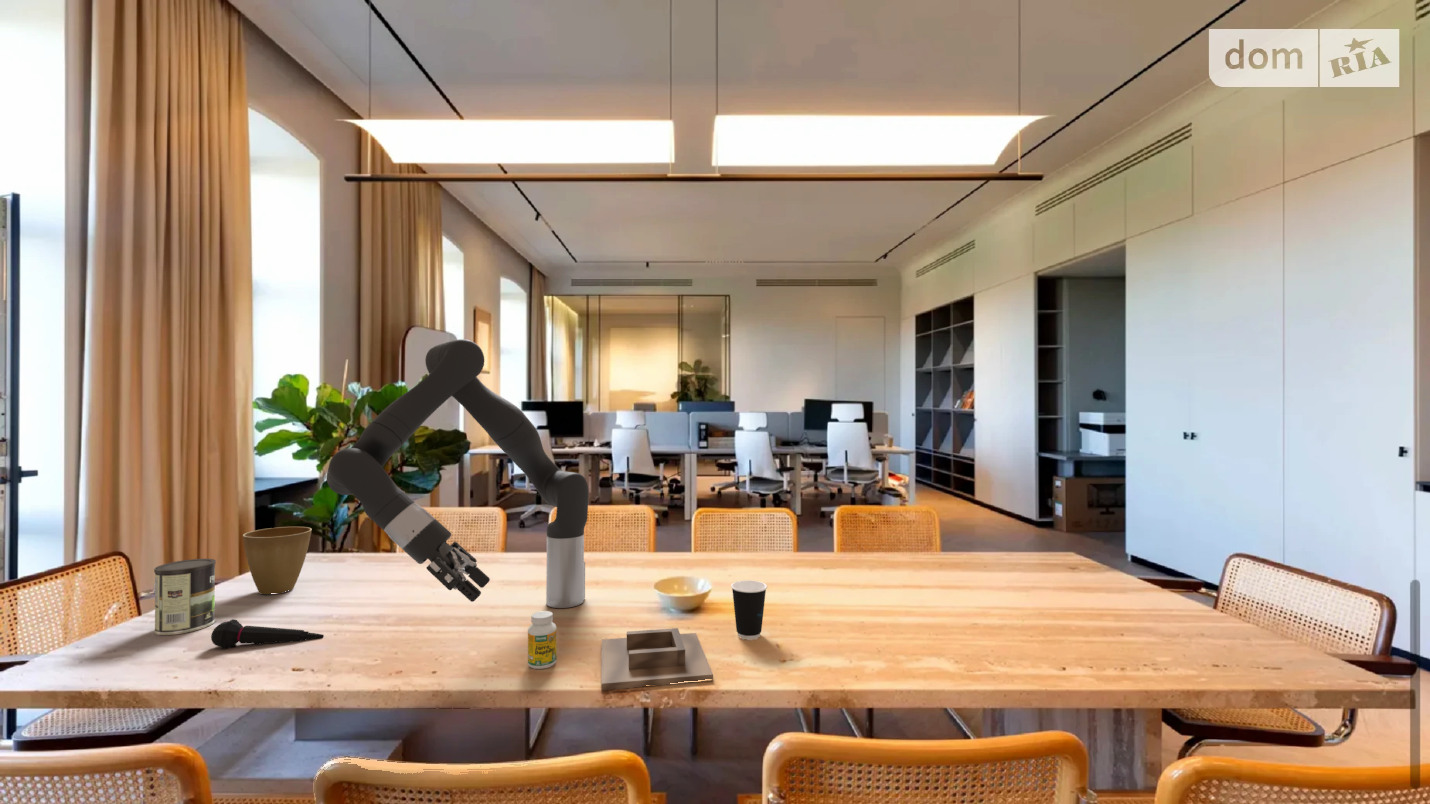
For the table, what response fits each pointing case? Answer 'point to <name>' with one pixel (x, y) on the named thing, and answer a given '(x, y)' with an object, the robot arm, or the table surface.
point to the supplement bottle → (542, 641)
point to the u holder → (652, 659)
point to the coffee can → (184, 596)
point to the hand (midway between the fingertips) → (482, 590)
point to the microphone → (255, 634)
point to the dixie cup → (749, 607)
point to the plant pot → (276, 557)
